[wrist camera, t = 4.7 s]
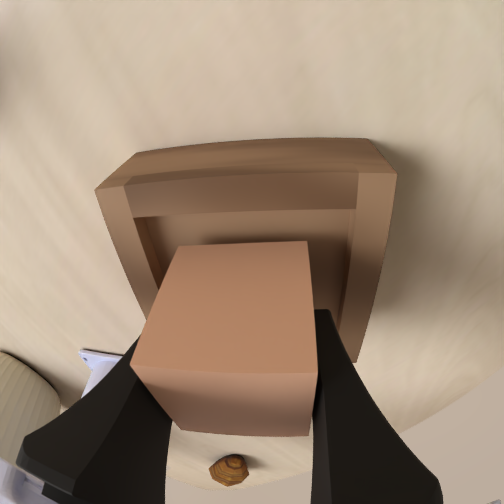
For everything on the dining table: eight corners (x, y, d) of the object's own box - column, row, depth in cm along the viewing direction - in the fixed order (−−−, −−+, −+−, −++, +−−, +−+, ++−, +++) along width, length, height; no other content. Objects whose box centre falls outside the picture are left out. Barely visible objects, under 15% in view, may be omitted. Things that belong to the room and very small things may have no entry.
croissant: (213, 448, 38) (209, 477, 34) (258, 455, 38) (256, 484, 34) (207, 464, 46) (203, 487, 42) (243, 469, 46) (240, 492, 42)
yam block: (305, 327, 13) (308, 436, 9) (204, 327, 13) (181, 429, 9) (307, 240, 10) (318, 372, 6) (178, 245, 11) (129, 364, 7)
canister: (2, 326, 25) (-65, 475, 8) (102, 411, 34) (65, 539, 17) (-31, 337, 30) (-79, 438, 14) (44, 403, 40) (11, 497, 23)
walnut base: (347, 308, 17) (356, 362, 14) (182, 309, 19) (166, 359, 16) (367, 138, 11) (397, 173, 8) (136, 152, 13) (94, 189, 10)
